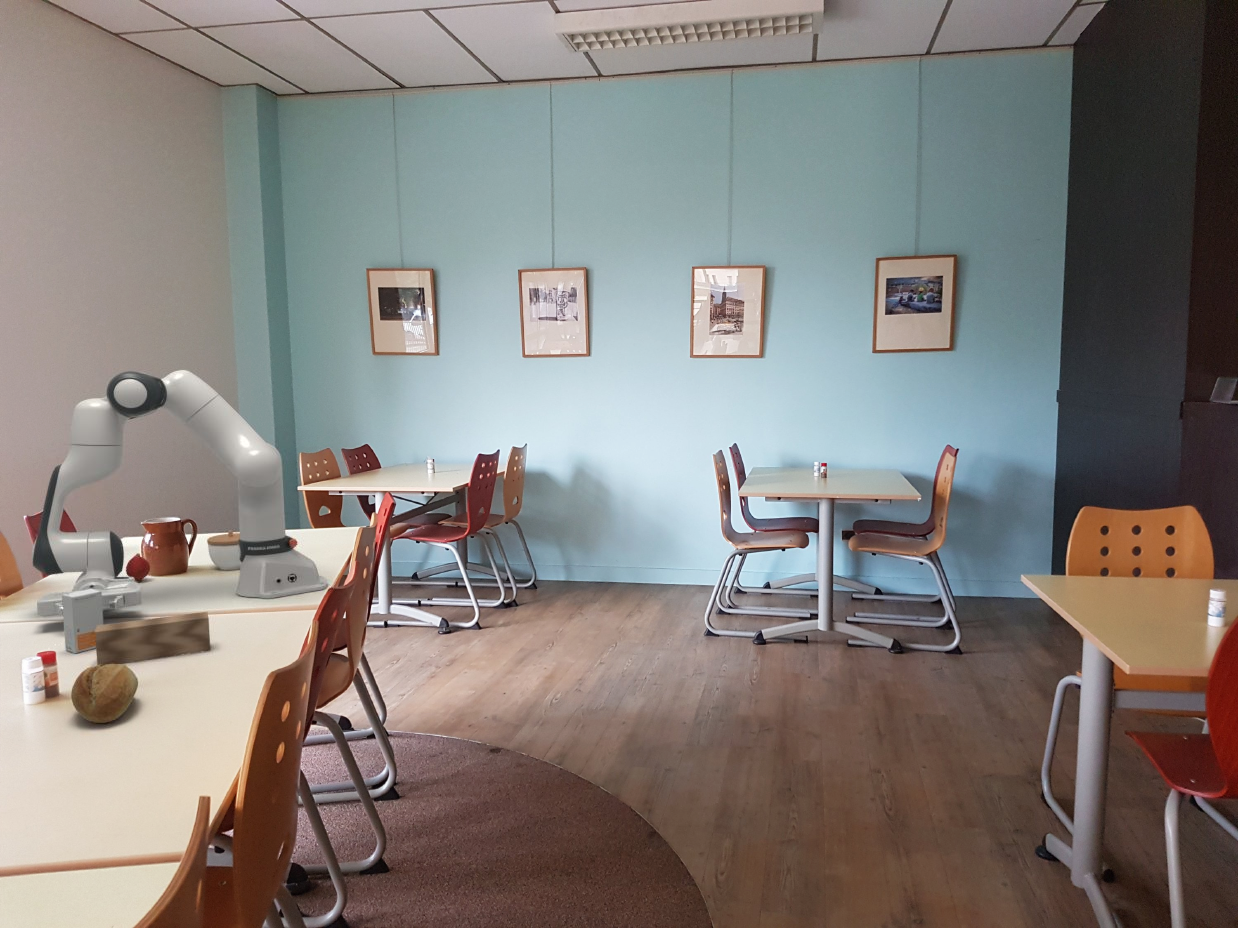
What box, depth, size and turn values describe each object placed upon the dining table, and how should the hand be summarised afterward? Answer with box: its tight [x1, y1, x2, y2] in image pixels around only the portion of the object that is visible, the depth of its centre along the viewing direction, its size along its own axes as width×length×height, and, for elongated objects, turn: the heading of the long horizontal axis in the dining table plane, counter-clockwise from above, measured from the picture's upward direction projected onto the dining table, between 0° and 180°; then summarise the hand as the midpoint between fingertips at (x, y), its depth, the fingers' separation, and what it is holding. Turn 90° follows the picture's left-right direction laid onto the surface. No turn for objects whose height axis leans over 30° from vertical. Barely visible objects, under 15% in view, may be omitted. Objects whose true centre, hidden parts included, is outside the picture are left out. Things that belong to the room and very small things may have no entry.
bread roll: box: [70, 664, 139, 724], centre depth 143 cm, size 10×15×8 cm, turn 28°
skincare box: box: [62, 589, 104, 654], centre depth 176 cm, size 6×4×12 cm
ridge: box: [95, 611, 211, 666], centre depth 171 cm, size 20×5×7 cm, turn 118°
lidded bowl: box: [206, 530, 241, 571], centre depth 249 cm, size 13×13×11 cm
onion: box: [125, 552, 151, 583], centre depth 232 cm, size 6×6×8 cm
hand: (88, 608), depth 186 cm, fingers open, 8 cm apart
